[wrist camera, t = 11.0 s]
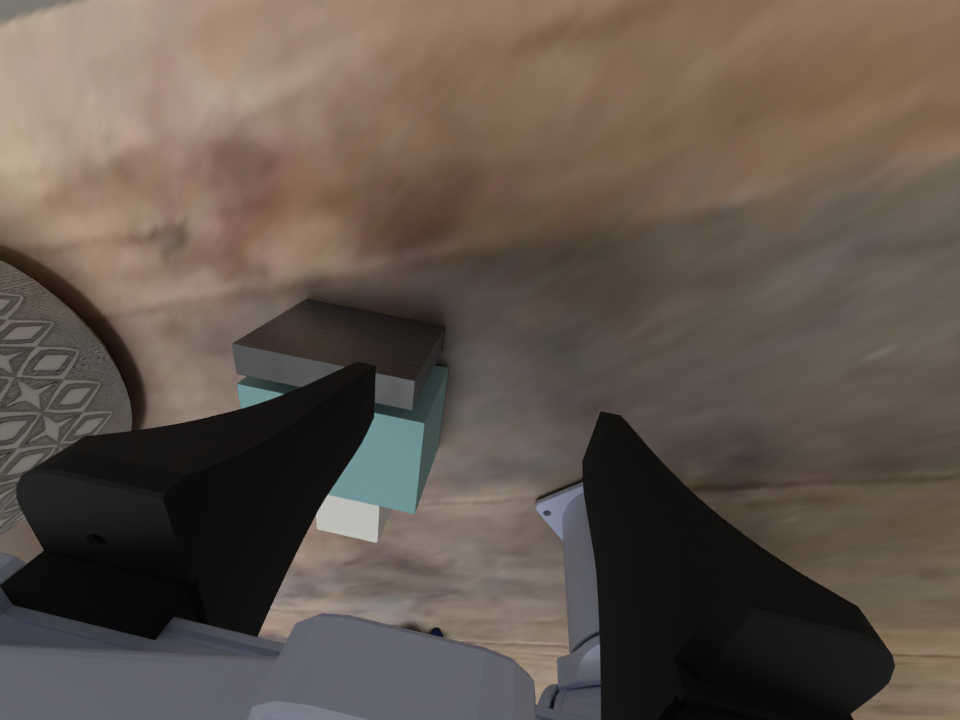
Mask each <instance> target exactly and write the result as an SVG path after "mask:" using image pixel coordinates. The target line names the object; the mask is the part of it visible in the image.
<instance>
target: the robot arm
mask: <svg viewBox="0 0 960 720" xmlns="http://www.w3.org/2000/svg"><path fill="white" fill-rule="evenodd" d="M375 379H376V365H371V364H366V363H361V362H356V363H353V364H351V365H348V366H346V367H344V368H342V369H340V370H337V371H335V372H333V373H331V374H329V375H327V376H325V377H323V378H320V379H318V380H316V381H314V382H312V383H309V384H307V385H305V386H303V387H300V388H298V389H295V390H293V391H290V392H288V393H285V394H283V395H281V396H278V397H276V398H273V399H270V400H267V401H264V402H261V403H258V404H255V405H252V406H249V407H246V408H243V409H239V410H236V411H232V412H228V413H224V414H220V415H216V416H212V417H208V418H203V419H199V420H195V421H190V422H185V423H179V424H174V425H168V426H162V427H156V428H150V429H143V430H135V431H127V432H118V433H109V434H101V435H91V436H85V437H83V438H81V439H79V440H78V441H76V442H75V443H73V444H71V445H70V446H68V447H66V448H65V449H63V450H62V451H60V452H58V453H57V454H55V455H54V456H52V457H50V458H49V459H47V460H45V461H44V462H42V463H41V464H39V465H37V466H36V467H34V468H33V469H31V470H29V471H28V472H26V473H24V474H23V475H21V477H20V479H19V481H18V483H17V486H16V498H17V501H18V503H19V506H20V508H21V511H22V512H23V514H24V516H25V518H26V519H27V521H28V523H29V525H30V526H31V528H32V530H33V532H34V533H35V535H36V537H37V539H38V540H39V542H40V544H41V546H42V547H43V549H44V551H43V552H42V553H41V554H39V555H38V556H37V557H35V558H34V559H33V560H32V561H30V562H29V563H28V564H26V563H25V562H24V561H22V560H21V559H19V558H18V557H15V556H13V555H10V554H7V553H2V552H0V720H853V718H852V716H851V715H850V714H851V713H852V712H853V711H855V710H856V709H857V708H859V707H860V706H861V705H863V704H864V703H865V702H867V701H868V700H869V699H871V698H872V697H873V696H875V695H876V694H877V693H878V692H880V691H881V690H882V689H883V688H884V687H885V686H886V685H887V684H888V683H889V681H890V679H891V676H892V673H893V670H894V668H895V665H894V660H893V656H892V654H891V653H890V651H889V650H888V648H887V647H886V646H885V644H884V643H883V641H882V640H881V638H880V637H879V636H878V634H877V633H876V631H875V630H874V629H873V627H872V626H871V624H870V623H869V621H868V620H867V619H866V617H865V616H864V614H863V613H862V612H861V610H860V609H859V608H858V607H857V606H856V605H854V604H852V603H851V602H849V601H847V600H845V599H844V598H842V597H840V596H839V595H837V594H835V593H833V592H832V591H830V590H828V589H827V588H825V587H823V586H821V585H820V584H818V583H816V582H815V581H813V580H811V579H809V578H808V577H806V576H804V575H803V574H801V573H800V572H798V571H796V570H795V569H793V568H792V567H790V566H789V565H787V564H786V563H784V562H783V561H781V560H780V559H778V558H777V557H775V556H774V555H772V554H770V553H769V552H768V551H766V550H765V549H763V548H762V547H760V546H759V545H758V544H756V543H755V542H753V541H752V540H750V539H749V538H748V537H746V536H745V535H744V534H742V533H741V532H740V531H738V530H737V529H736V528H735V527H733V526H732V525H731V524H729V523H728V522H727V521H725V520H724V519H723V518H722V517H720V516H719V515H718V514H717V513H715V512H714V511H713V510H712V509H711V508H710V507H708V506H707V505H706V504H705V503H704V502H703V501H702V500H700V499H699V498H698V497H697V496H696V495H695V494H694V493H693V492H691V491H690V490H689V489H688V488H687V487H686V486H685V485H684V484H683V483H682V482H681V481H680V480H679V479H678V478H677V477H676V476H675V475H674V474H673V473H672V472H671V471H670V470H669V469H668V468H667V467H666V466H665V465H664V464H663V463H662V462H661V460H660V459H659V458H658V457H657V456H656V455H655V454H654V453H653V452H652V450H651V449H650V448H649V447H648V446H647V445H646V444H645V443H644V441H643V440H642V439H641V438H640V437H639V436H638V434H637V433H636V432H635V431H634V430H633V429H632V427H631V426H630V425H629V424H628V423H627V422H626V421H625V420H624V419H623V418H622V417H621V416H620V415H616V414H611V413H606V412H600V415H599V418H598V420H597V423H596V426H595V428H594V431H593V434H592V437H591V439H590V442H589V445H588V448H587V450H586V453H585V456H584V459H583V482H581V483H579V484H576V485H574V486H571V487H569V488H566V489H564V490H561V491H559V492H556V493H554V494H552V495H549V496H547V497H544V498H542V499H539V500H538V501H537V502H536V510H537V512H538V513H539V514H540V515H541V516H542V517H543V519H544V520H545V521H546V522H547V523H548V525H549V526H550V527H551V528H552V529H553V530H554V532H555V533H556V534H557V535H558V536H559V538H560V539H561V540H562V541H563V551H564V567H565V584H566V601H567V617H568V634H569V651H570V654H569V655H567V656H563V657H559V658H557V670H558V684H552V685H550V686H548V687H546V688H545V690H544V691H543V693H542V695H541V697H540V699H539V702H538V705H535V687H534V680H533V679H532V678H531V677H530V675H529V674H528V673H527V672H526V671H525V670H524V669H523V668H522V667H520V666H519V665H518V664H517V663H516V662H515V661H514V660H513V659H512V658H510V657H507V656H505V655H502V654H500V653H497V652H495V651H492V650H490V649H487V648H485V647H481V646H477V645H472V644H468V643H464V642H460V641H455V640H451V639H447V638H443V637H439V636H434V635H430V634H426V633H422V632H418V631H413V630H409V629H405V628H401V627H396V626H392V625H388V624H384V623H380V622H375V621H371V620H367V619H363V618H359V617H354V616H350V615H338V614H326V613H322V614H319V615H317V616H314V617H311V618H309V619H306V620H303V621H301V622H298V623H296V624H295V626H294V628H293V630H292V632H291V634H290V636H289V637H288V639H287V641H286V643H285V644H284V643H280V642H276V641H271V640H267V639H263V638H259V637H257V636H258V634H259V632H260V630H261V627H262V625H263V623H264V621H265V618H266V616H267V614H268V611H269V609H270V607H271V605H272V603H273V601H274V598H275V596H276V594H277V592H278V590H279V588H280V586H281V583H282V581H283V579H284V577H285V575H286V573H287V571H288V569H289V567H290V565H291V563H292V561H293V559H294V557H295V555H296V553H297V551H298V549H299V546H300V544H301V542H302V540H303V538H304V537H305V535H306V533H307V531H308V529H309V527H310V525H311V523H312V521H313V519H314V517H315V516H316V514H317V512H318V510H319V508H320V507H321V505H322V503H323V502H324V500H325V498H326V497H327V495H328V494H329V492H330V491H331V489H332V488H333V486H334V485H335V483H336V482H337V480H338V479H339V477H340V476H341V474H342V473H343V471H344V470H345V468H346V467H347V465H348V464H349V462H350V461H351V459H352V458H353V456H354V455H355V453H356V452H357V450H358V449H359V447H360V445H361V444H362V442H363V440H364V438H365V436H366V434H367V432H368V430H369V428H370V426H371V423H372V421H373V419H374V410H375ZM547 511H548V512H547Z"/></svg>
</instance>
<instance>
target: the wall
mask: <svg viewBox="0 0 960 720" xmlns="http://www.w3.org/2000/svg"><path fill="white" fill-rule="evenodd" d="M444 334H445V327H444V326H439V325H434V324H429V323H424V322H419V321H414V320H409V319H403V318H398V317H393V316H388V315H383V314H378V313H373V312H368V311H363V310H358V309H353V308H348V307H343V306H338V305H333V304H327V303H322V302H317V301H312V300H307V299H306V300H304V301H302V302H301V303H299V304H297V305H296V306H294V307H292V308H291V309H289V310H287V311H286V312H284V313H282V314H281V315H279V316H277V317H276V318H274V319H272V320H271V321H269V322H267V323H266V324H264V325H262V326H261V327H259V328H257V329H256V330H254V331H252V332H251V333H249V334H247V335H246V336H244V337H242V338H241V339H239V340H237V341H236V342H234V343H232V346H233V353H234V359H235V365H236V371H237V374H240V375H245V376H250V377H255V378H260V379H264V380H269V381H274V382H279V383H284V384H288V385H293V386H298V387H303V386H305V385H307V384H309V383H312V382H314V381H316V380H318V379H320V378H323V377H325V376H327V375H329V374H331V373H333V372H335V371H337V370H340V369H342V368H344V367H346V366H348V365H351V364H353V363H356V362H361V363H366V364H371V365H376V379H375V403H379V404H384V405H389V406H394V407H398V408H403V409H408V410H413V408H414V406H415V404H416V402H417V400H418V398H419V396H420V394H421V392H422V390H423V388H424V386H425V384H426V382H427V380H428V378H429V376H430V374H431V372H432V370H433V368H434V366H435V364H436V363H437V361H438V359H439V357H440V355H441V353H442V350H443V342H444Z"/></svg>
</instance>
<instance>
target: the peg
mask: <svg viewBox="0 0 960 720" xmlns="http://www.w3.org/2000/svg"><path fill="white" fill-rule="evenodd" d="M391 510H392V509H390V508H385V507H381V506H376V505H372V504H367V503H363V502H358V501H354V500H349V499H345V498H340V497H336V496H331V495H327V497H326V498H325V500H324V502H323V503H322V505H321V507H320V508H319V510H318V512H317V514H316V520H317V529H319V530H323V531H328V532H332V533H336V534H341V535H345V536H349V537H354V538H358V539H362V540H367V541H371V542H375V543H378V540H379V538H380V536H381V533H382V531H383V529H384V526H385V524H386V522H387V519H388V517H389V515H390V512H391Z"/></svg>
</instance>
